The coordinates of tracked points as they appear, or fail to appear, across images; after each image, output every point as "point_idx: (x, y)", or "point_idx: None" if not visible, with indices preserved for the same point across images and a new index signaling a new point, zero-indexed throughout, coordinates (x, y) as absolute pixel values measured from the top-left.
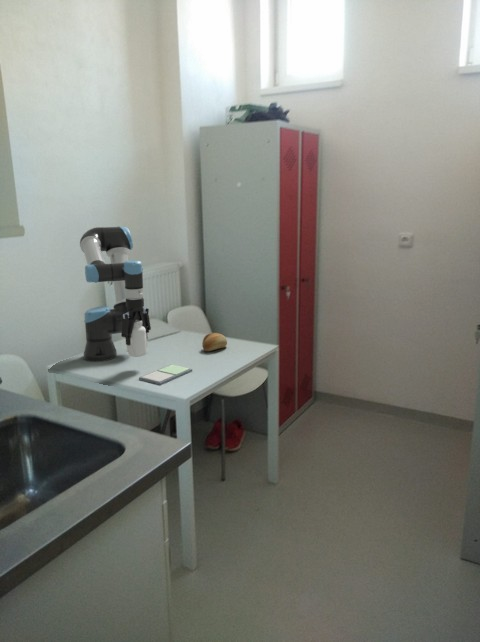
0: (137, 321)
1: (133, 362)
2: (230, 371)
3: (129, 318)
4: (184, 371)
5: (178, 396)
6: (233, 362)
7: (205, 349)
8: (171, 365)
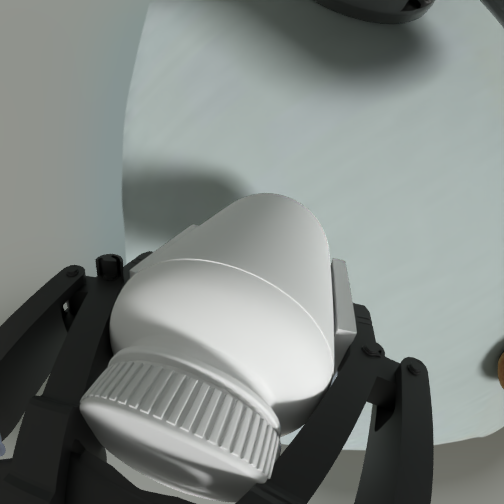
0: (158, 476)
1: (363, 142)
2: None
3: (41, 442)
4: None
5: None
6: None
7: (500, 360)
8: None
